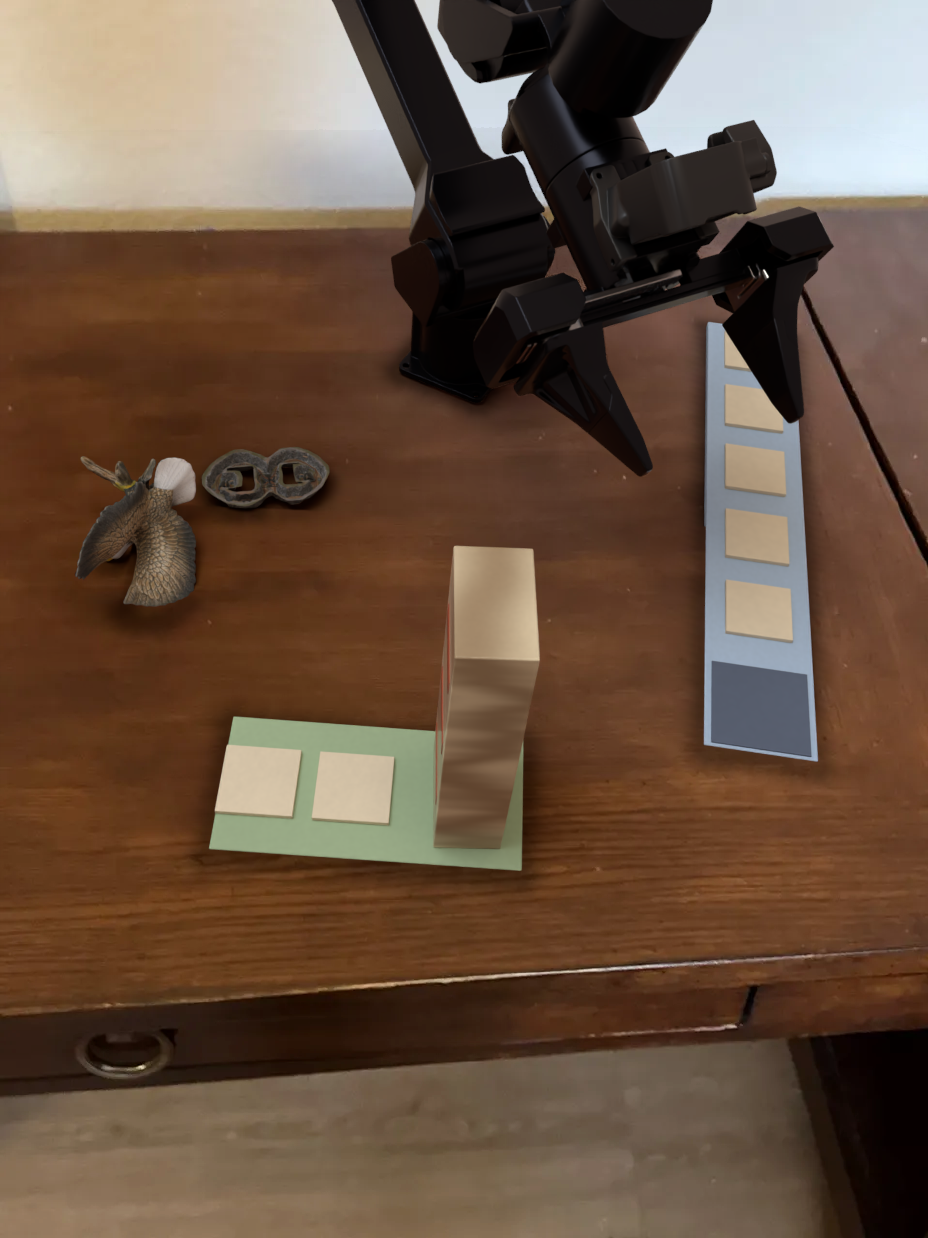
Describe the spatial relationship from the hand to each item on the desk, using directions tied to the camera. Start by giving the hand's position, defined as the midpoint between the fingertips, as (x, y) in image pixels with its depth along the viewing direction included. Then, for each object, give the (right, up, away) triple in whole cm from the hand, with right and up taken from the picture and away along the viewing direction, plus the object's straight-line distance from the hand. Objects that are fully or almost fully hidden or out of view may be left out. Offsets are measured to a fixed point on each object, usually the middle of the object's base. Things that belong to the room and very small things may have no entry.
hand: (723, 445), depth 60 cm
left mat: (-18, -18, +4) cm, 26 cm away
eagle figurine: (-32, -5, +13) cm, 35 cm away
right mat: (+6, -2, +19) cm, 20 cm away
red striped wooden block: (-13, -18, +4) cm, 23 cm away
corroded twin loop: (-25, 0, +17) cm, 31 cm away
